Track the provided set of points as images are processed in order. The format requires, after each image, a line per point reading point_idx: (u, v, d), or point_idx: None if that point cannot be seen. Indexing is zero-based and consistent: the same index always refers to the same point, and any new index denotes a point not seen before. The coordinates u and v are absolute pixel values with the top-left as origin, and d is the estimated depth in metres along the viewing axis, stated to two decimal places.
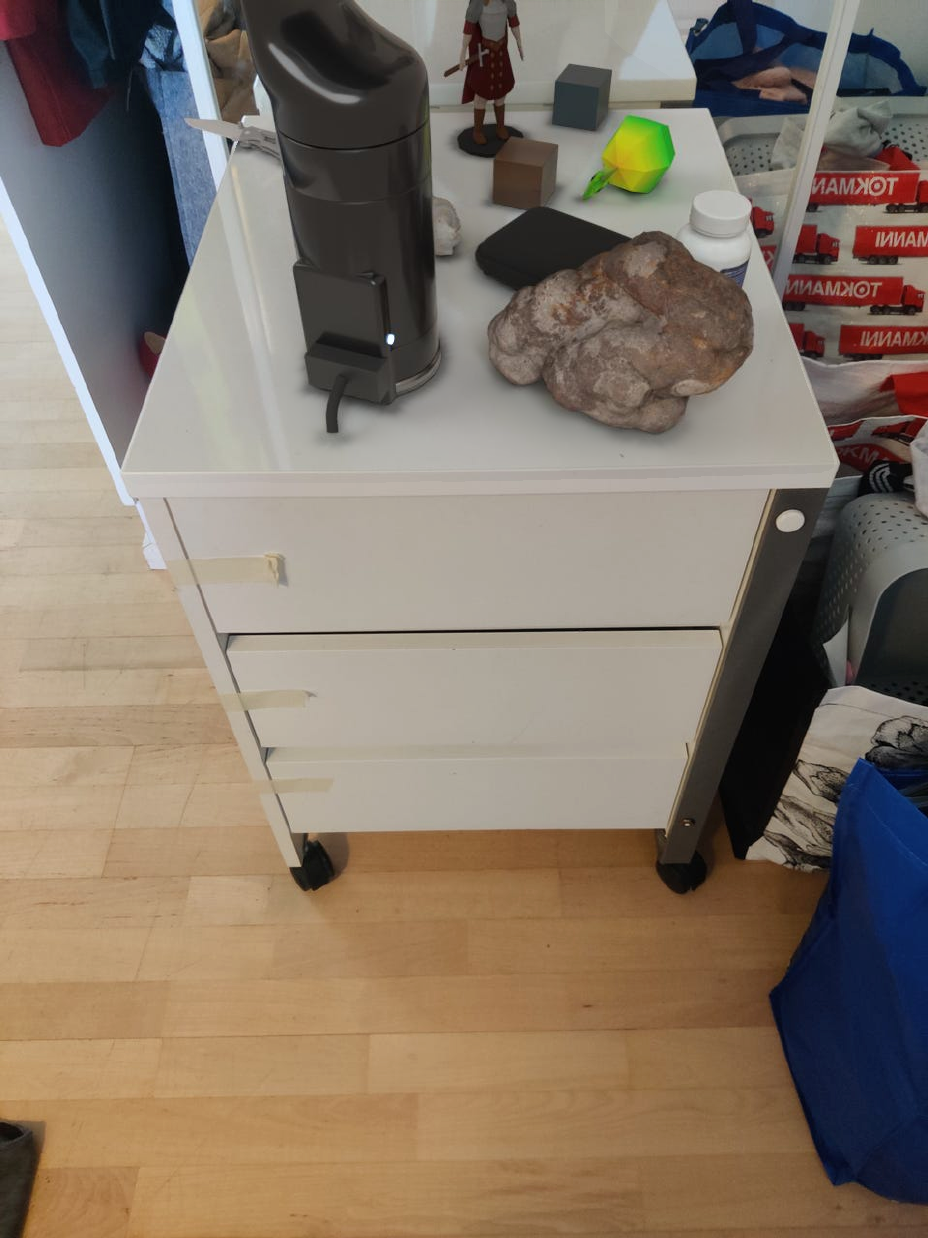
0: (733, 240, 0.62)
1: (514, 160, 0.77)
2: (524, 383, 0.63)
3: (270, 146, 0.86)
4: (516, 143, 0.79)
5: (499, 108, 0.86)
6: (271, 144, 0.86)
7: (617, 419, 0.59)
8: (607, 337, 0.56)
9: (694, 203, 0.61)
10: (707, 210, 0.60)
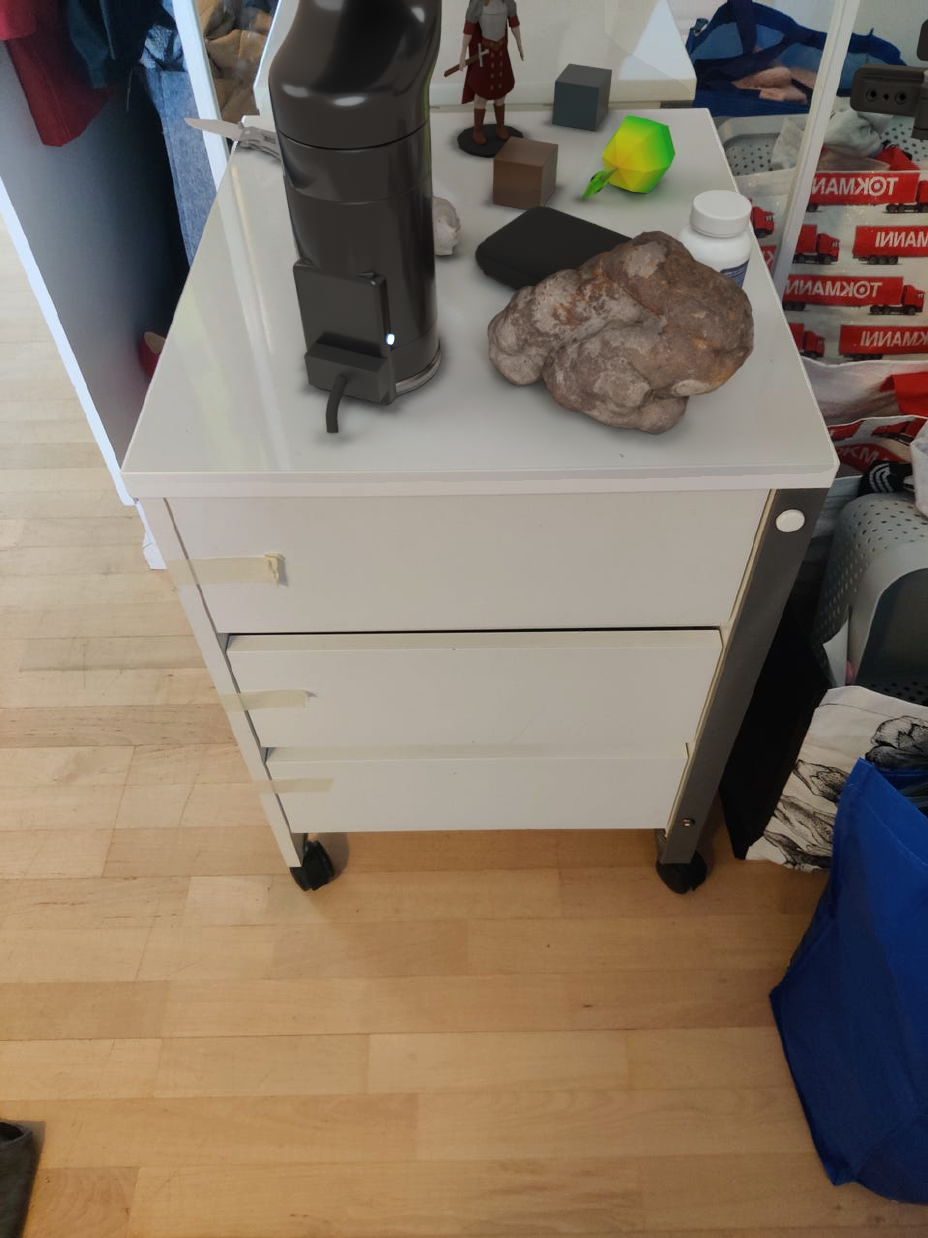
0: (733, 240, 0.62)
1: (514, 160, 0.77)
2: (524, 383, 0.63)
3: (270, 146, 0.86)
4: (516, 143, 0.79)
5: (499, 108, 0.86)
6: (271, 144, 0.86)
7: (617, 419, 0.59)
8: (607, 337, 0.56)
9: (694, 203, 0.61)
10: (707, 210, 0.60)
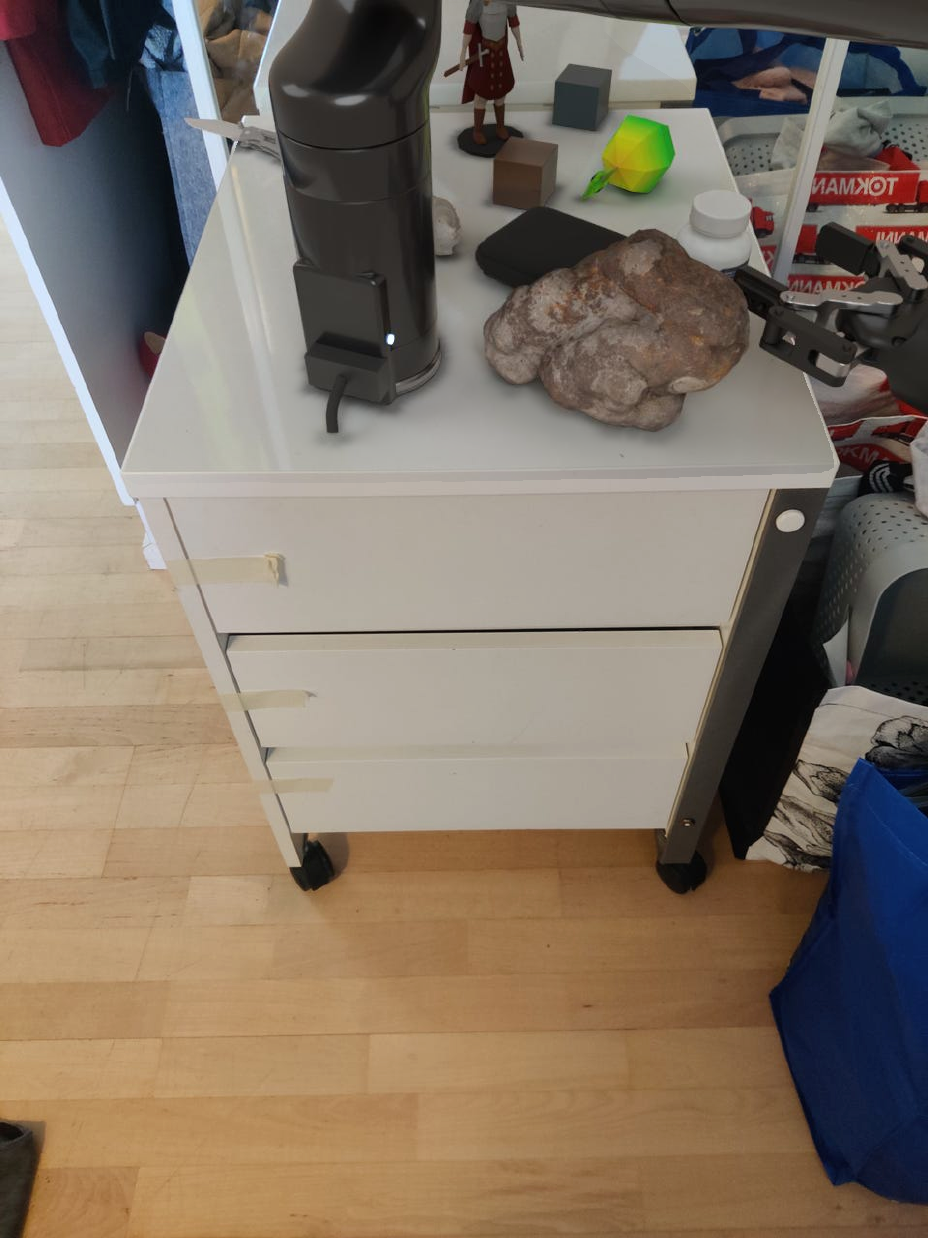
0: (733, 240, 0.62)
1: (514, 160, 0.77)
2: (521, 382, 0.63)
3: (270, 146, 0.86)
4: (516, 143, 0.79)
5: (499, 108, 0.86)
6: (271, 144, 0.86)
7: (615, 417, 0.59)
8: (604, 335, 0.56)
9: (694, 203, 0.61)
10: (707, 210, 0.60)
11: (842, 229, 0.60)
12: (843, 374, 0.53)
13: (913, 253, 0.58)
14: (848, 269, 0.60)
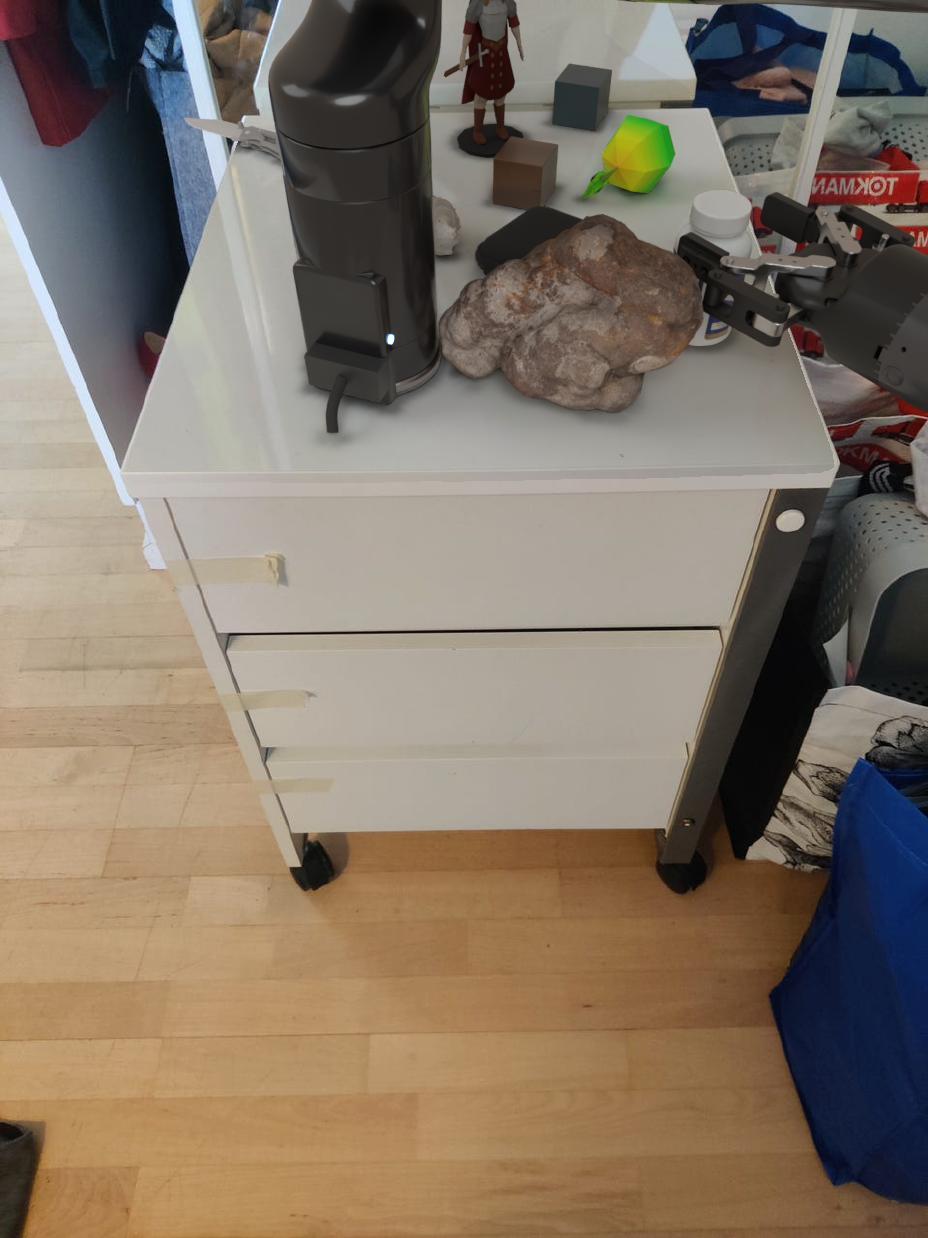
0: (733, 240, 0.62)
1: (514, 160, 0.77)
2: (480, 375, 0.64)
3: (270, 146, 0.86)
4: (516, 143, 0.79)
5: (499, 108, 0.86)
6: (271, 144, 0.86)
7: (580, 401, 0.60)
8: (564, 322, 0.57)
9: (694, 203, 0.61)
10: (707, 210, 0.60)
11: (785, 199, 0.62)
12: (778, 333, 0.55)
13: (852, 221, 0.61)
14: (791, 237, 0.63)
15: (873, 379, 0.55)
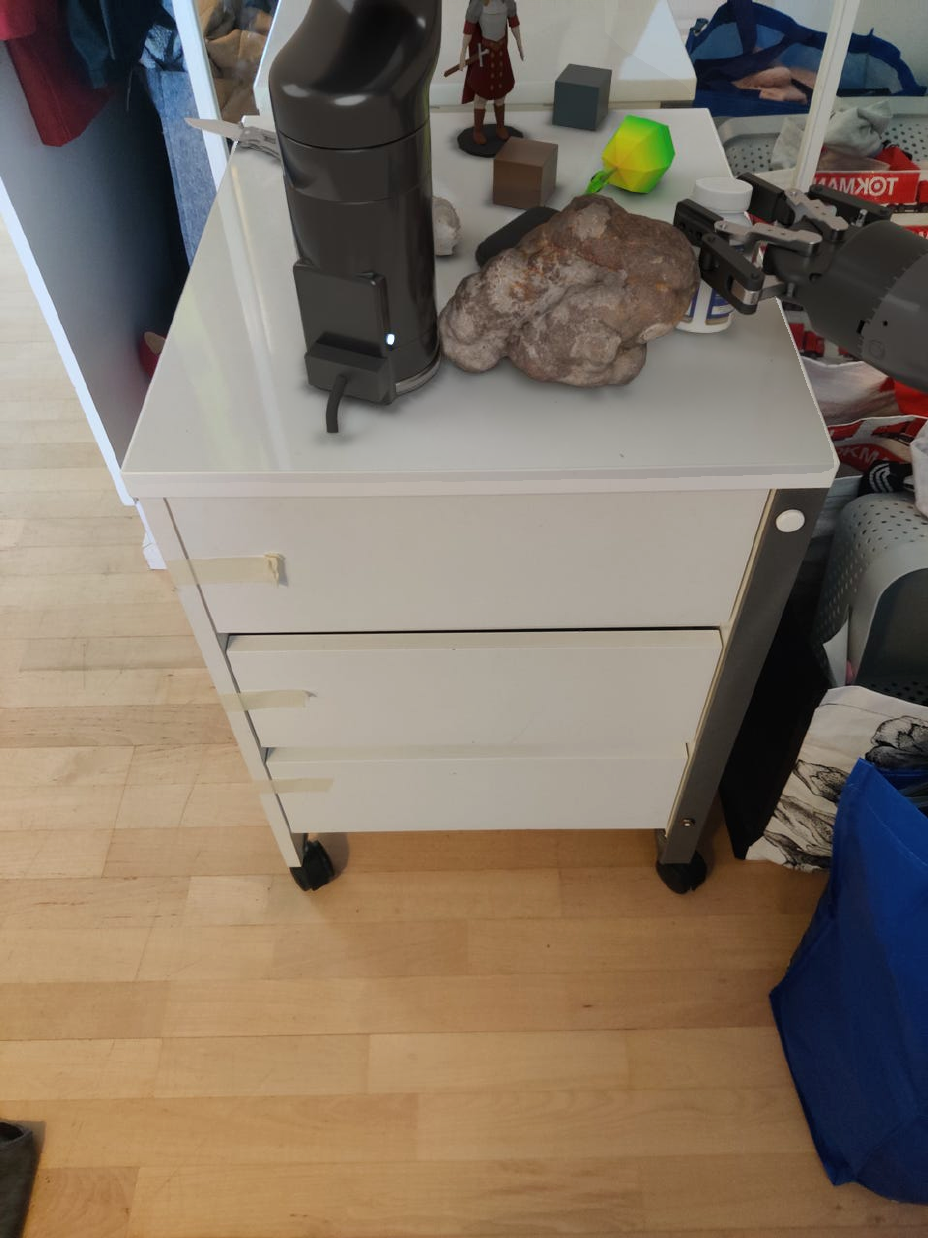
0: (735, 219, 0.62)
1: (514, 160, 0.77)
2: (485, 369, 0.64)
3: (270, 146, 0.86)
4: (516, 143, 0.79)
5: (499, 108, 0.86)
6: (271, 144, 0.86)
7: (593, 378, 0.61)
8: (573, 302, 0.58)
9: (696, 182, 0.62)
10: (709, 187, 0.61)
11: (755, 179, 0.63)
12: (750, 302, 0.56)
13: (824, 201, 0.61)
14: (762, 217, 0.63)
15: (857, 354, 0.56)
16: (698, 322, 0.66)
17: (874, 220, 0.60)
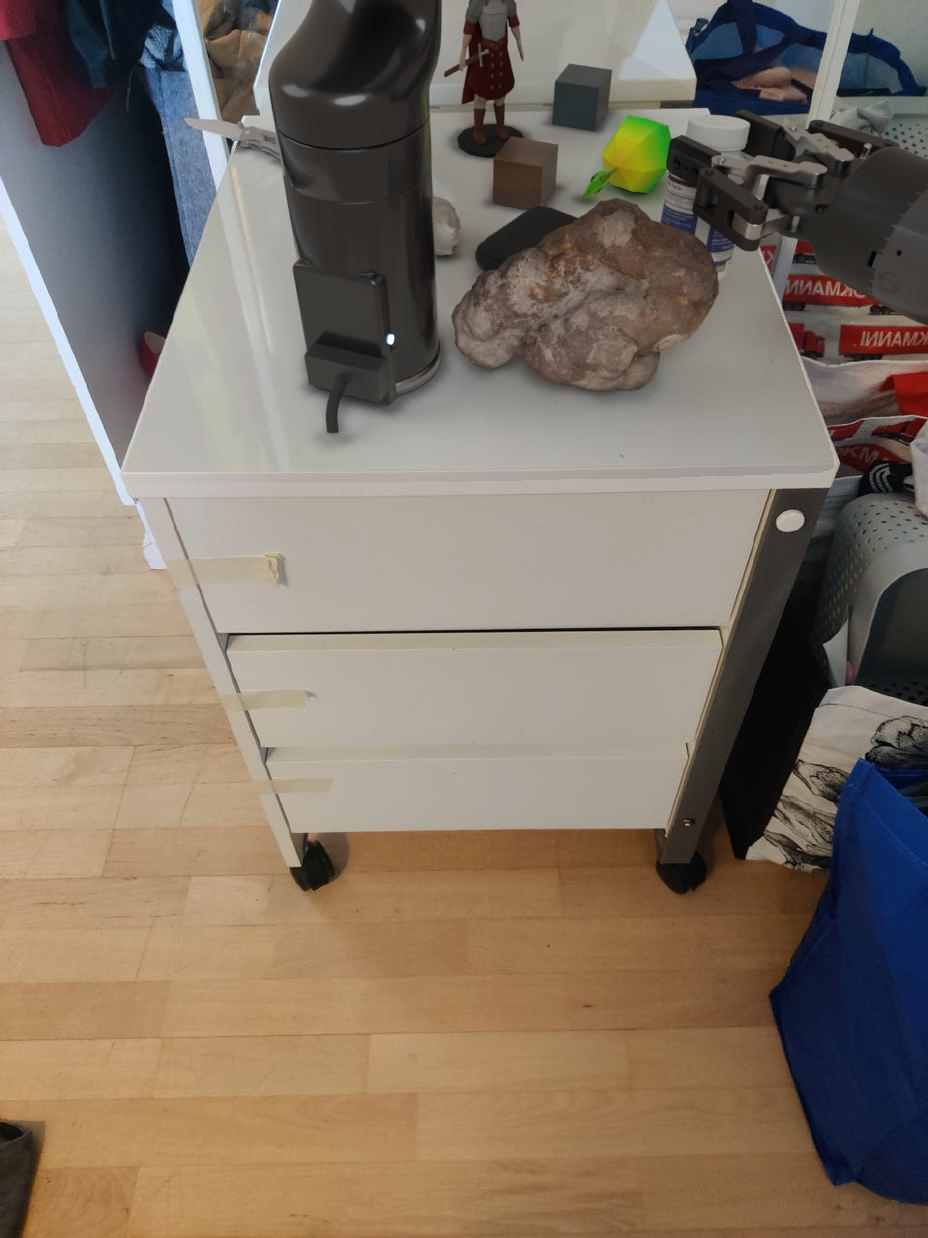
0: None
1: (514, 160, 0.77)
2: (497, 365, 0.64)
3: (270, 146, 0.86)
4: (516, 143, 0.79)
5: (499, 108, 0.86)
6: (271, 144, 0.86)
7: (607, 383, 0.61)
8: (593, 309, 0.58)
9: (690, 119, 0.59)
10: (704, 123, 0.58)
11: (752, 116, 0.59)
12: (753, 236, 0.53)
13: (826, 136, 0.58)
14: None
15: (867, 290, 0.52)
16: None
17: None
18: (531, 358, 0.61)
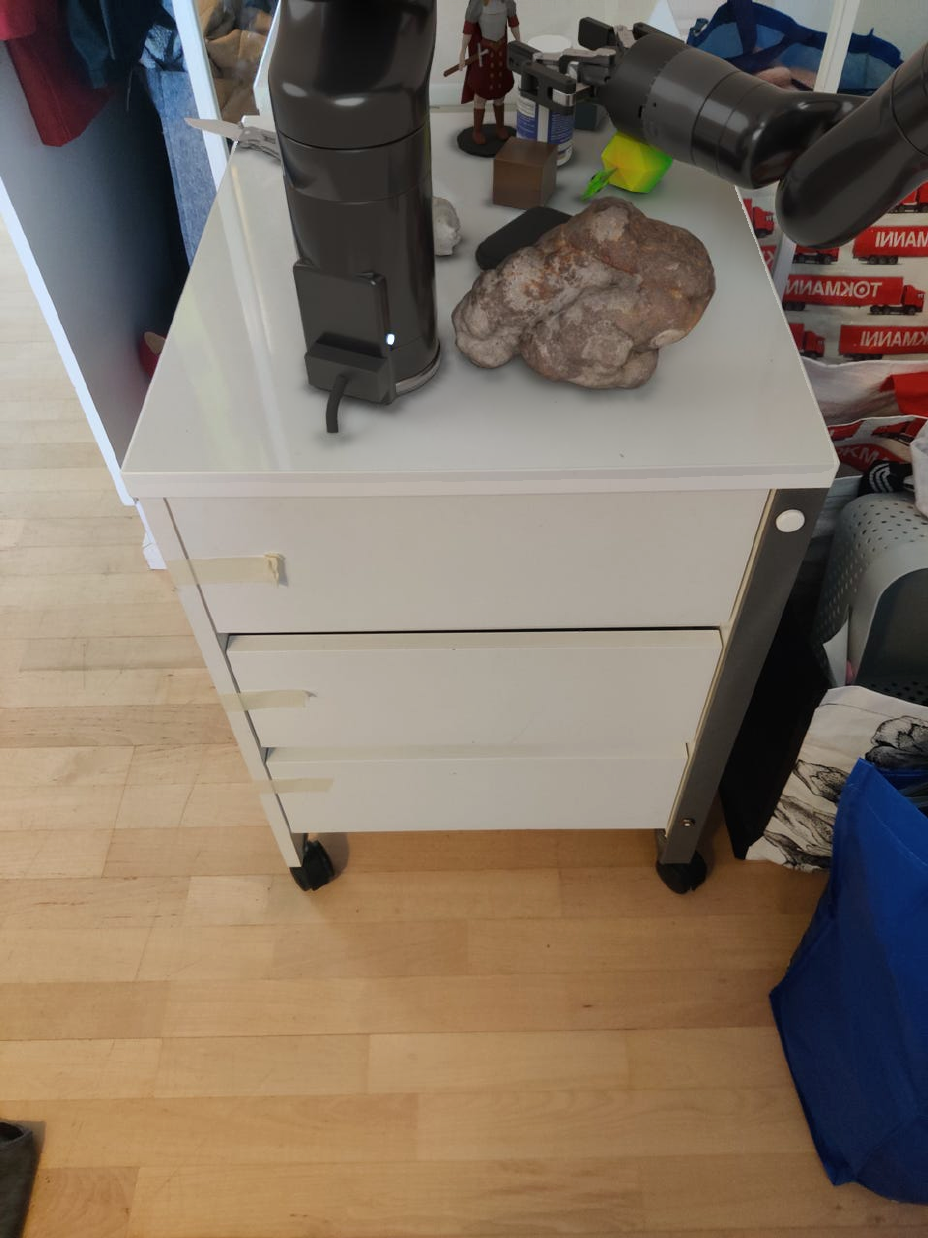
0: None
1: (514, 160, 0.77)
2: (497, 365, 0.64)
3: (270, 146, 0.86)
4: (516, 143, 0.79)
5: (499, 108, 0.86)
6: (271, 144, 0.86)
7: (604, 380, 0.61)
8: (587, 304, 0.58)
9: (528, 42, 0.79)
10: (536, 47, 0.78)
11: (593, 20, 0.80)
12: (569, 103, 0.73)
13: (641, 34, 0.79)
14: None
15: (643, 138, 0.73)
16: None
17: None
18: (528, 355, 0.61)
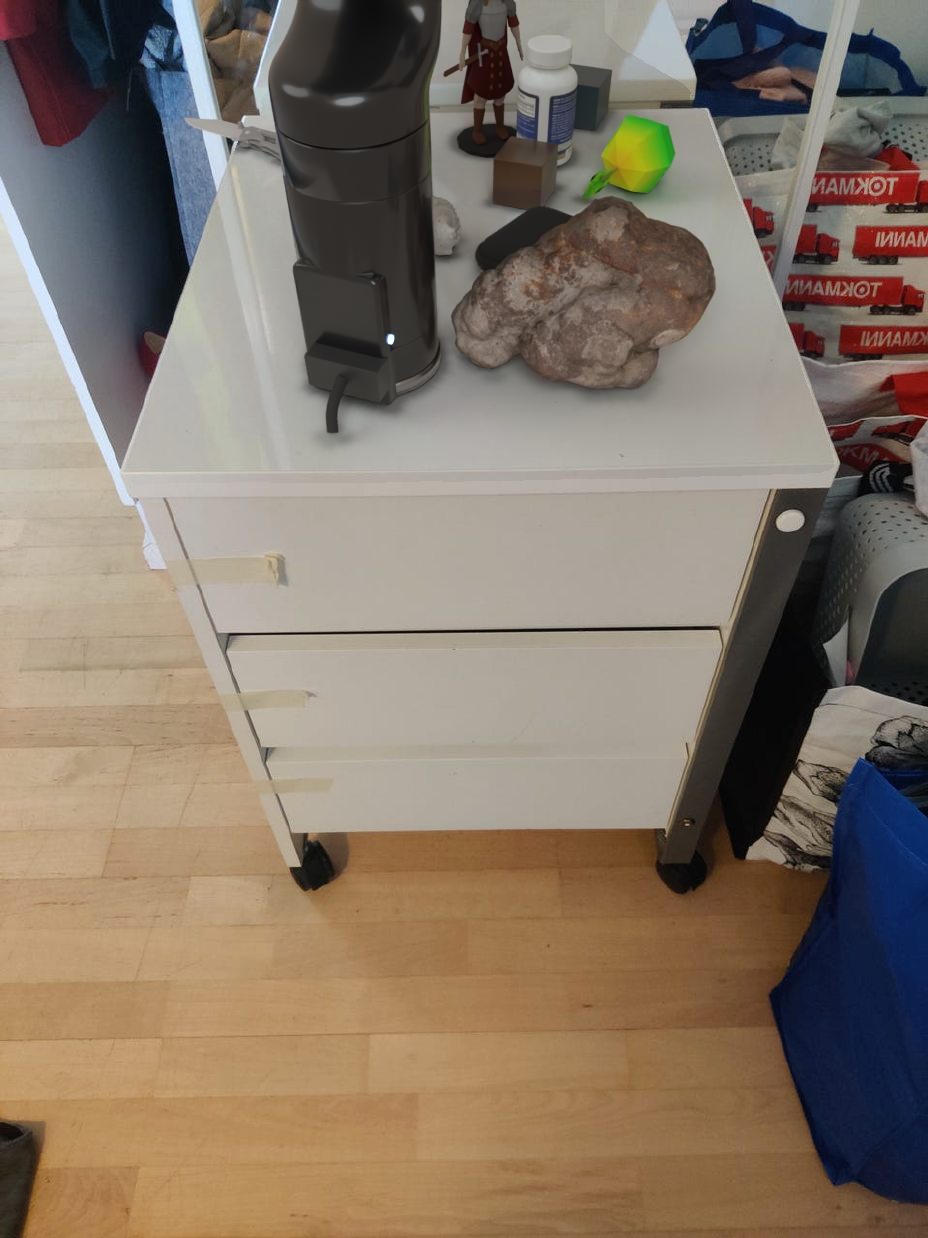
0: (559, 72, 0.79)
1: (514, 160, 0.77)
2: (497, 365, 0.64)
3: (270, 146, 0.86)
4: (516, 143, 0.79)
5: (499, 108, 0.86)
6: (271, 144, 0.86)
7: (604, 380, 0.61)
8: (587, 304, 0.58)
9: (528, 42, 0.79)
10: (536, 47, 0.78)
11: None
12: None
13: None
14: None
15: None
16: None
17: None
18: (528, 355, 0.61)
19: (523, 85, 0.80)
